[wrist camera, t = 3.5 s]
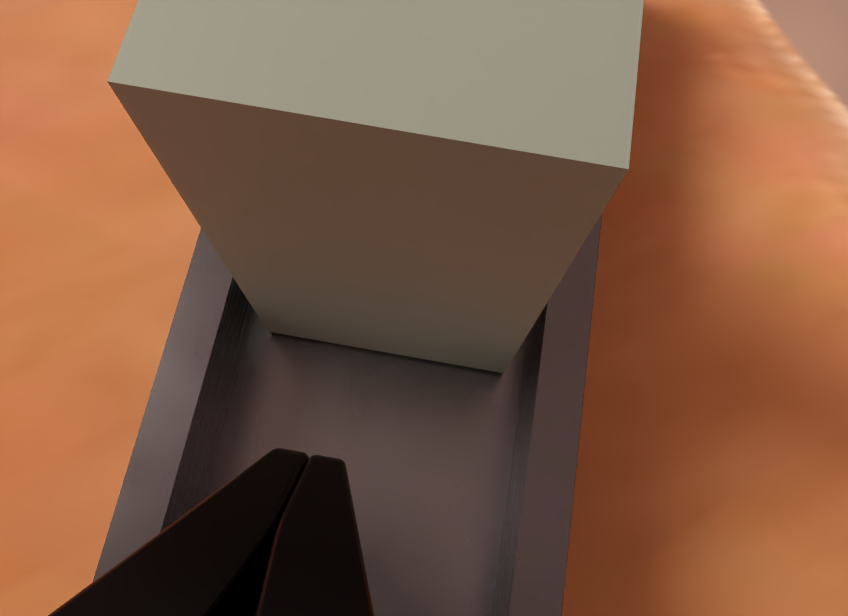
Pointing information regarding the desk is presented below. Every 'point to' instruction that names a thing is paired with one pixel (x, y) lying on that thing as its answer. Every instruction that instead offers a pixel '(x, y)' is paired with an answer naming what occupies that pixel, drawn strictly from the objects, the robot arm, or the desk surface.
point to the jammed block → (390, 155)
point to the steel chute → (378, 444)
